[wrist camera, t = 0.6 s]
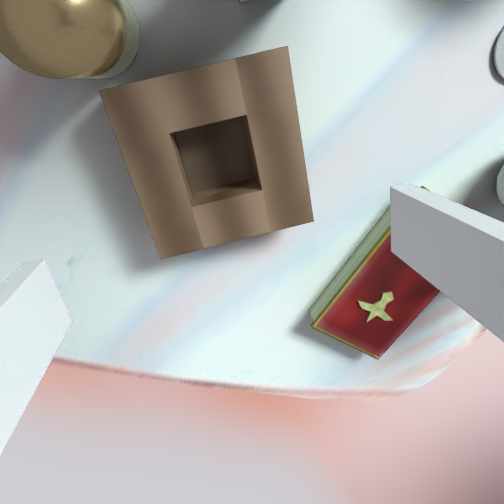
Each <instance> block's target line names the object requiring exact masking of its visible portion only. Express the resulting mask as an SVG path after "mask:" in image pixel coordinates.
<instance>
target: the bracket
mask: <svg viewBox="0 0 504 504" xmlns="http://www.w3.org/2000/svg"><path fill="white" fill-rule="evenodd" d="M494 62H495V67H496V69H497V72H498V73H499V75H500V76H501V77H502V78H503V79H504V28H503V29H502V31H501V33H500V35H499V37H498V39H497V42H496V45H495V51H494Z"/></svg>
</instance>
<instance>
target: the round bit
mask: <svg viewBox="0 0 504 504" xmlns="http://www.w3.org/2000/svg"><path fill="white" fill-rule="evenodd" d="M138 47H139V27H138V22H137V19H136V16H135V13H134V11H133V9H132V7H131V6H130V4H129V2H128V1H127V0H0V52H1V53H2V54H3V55H4V56H5V57H7V58H8V59H9V60H10V61H11V62H13V63H14V64H16V65H17V66H19V67H20V68H22V69H24V70H26V71H28V72H30V73H33V74H35V75H38V76H42V77H46V78H55V79H105V78H111V77H114V76H117V75H119V74H121V73H122V72H124V71H125V70H126V69H127V68H128V67H129V66H130V65H131V63H132V62H133V60H134V58H135V56H136V54H137V51H138Z"/></svg>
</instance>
